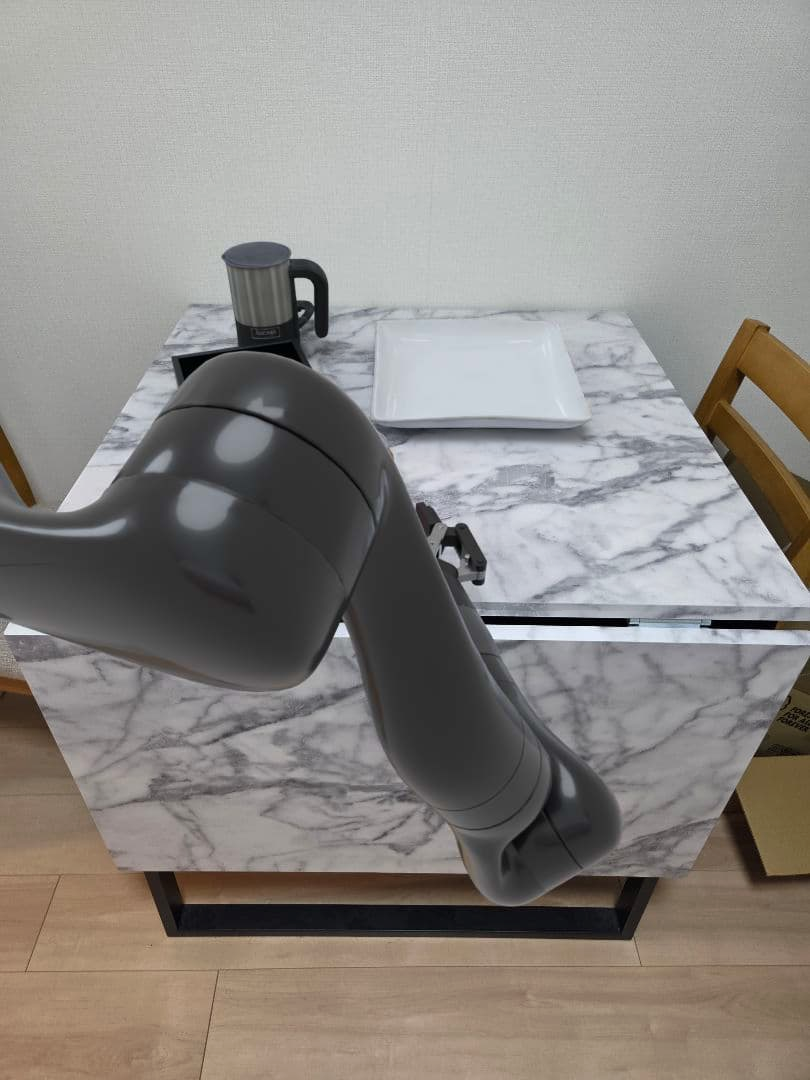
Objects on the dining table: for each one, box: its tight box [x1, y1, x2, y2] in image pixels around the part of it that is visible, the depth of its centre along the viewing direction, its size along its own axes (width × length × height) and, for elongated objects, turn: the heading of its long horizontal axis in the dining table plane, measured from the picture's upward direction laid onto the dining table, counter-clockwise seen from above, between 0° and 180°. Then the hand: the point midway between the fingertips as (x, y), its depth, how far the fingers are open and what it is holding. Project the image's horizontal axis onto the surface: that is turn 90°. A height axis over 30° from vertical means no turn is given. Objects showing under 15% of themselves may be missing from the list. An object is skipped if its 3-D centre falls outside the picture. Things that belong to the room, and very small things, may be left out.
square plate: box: [370, 318, 593, 429], centre depth 101 cm, size 27×27×4 cm
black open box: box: [170, 338, 313, 389], centre depth 95 cm, size 17×17×6 cm
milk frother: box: [220, 240, 330, 347], centre depth 107 cm, size 14×16×15 cm
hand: (376, 518), depth 71 cm, fingers open, 8 cm apart
